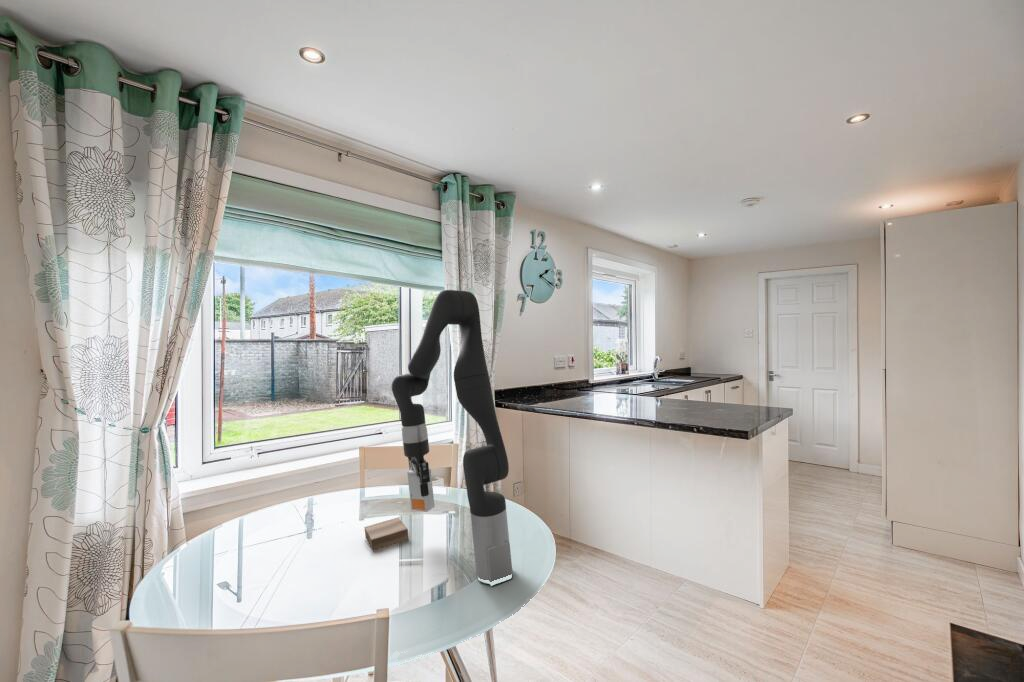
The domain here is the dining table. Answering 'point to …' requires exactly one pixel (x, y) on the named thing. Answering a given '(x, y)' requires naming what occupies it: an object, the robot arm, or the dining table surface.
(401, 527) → the walnut block
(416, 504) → the skincare box
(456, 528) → the dining table surface
